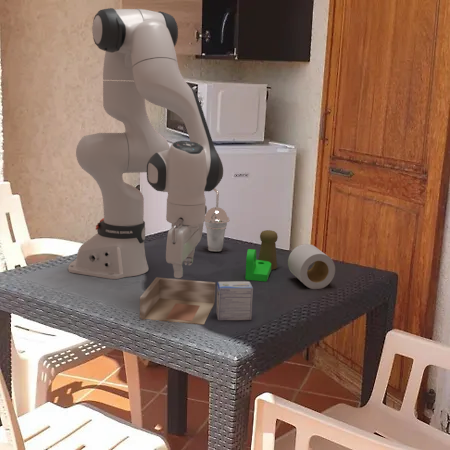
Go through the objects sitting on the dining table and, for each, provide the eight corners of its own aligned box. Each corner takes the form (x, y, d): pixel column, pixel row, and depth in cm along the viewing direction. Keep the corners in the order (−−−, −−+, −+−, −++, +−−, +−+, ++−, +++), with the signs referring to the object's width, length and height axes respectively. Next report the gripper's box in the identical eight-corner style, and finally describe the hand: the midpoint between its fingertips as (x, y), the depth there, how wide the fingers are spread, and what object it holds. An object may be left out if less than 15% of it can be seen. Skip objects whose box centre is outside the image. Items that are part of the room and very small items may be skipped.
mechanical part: (266, 281, 185) (268, 254, 183) (245, 279, 186) (246, 252, 184) (272, 267, 196) (273, 241, 194) (252, 265, 197) (253, 239, 195)
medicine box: (248, 315, 160) (250, 280, 158) (251, 322, 156) (253, 287, 154) (215, 315, 159) (217, 281, 157) (218, 322, 155) (219, 287, 153)
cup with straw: (200, 252, 211) (203, 190, 206) (202, 244, 219) (205, 185, 215) (227, 253, 210) (230, 191, 206) (228, 246, 219) (231, 186, 214)
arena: (139, 321, 154) (140, 297, 152) (155, 299, 168) (156, 277, 167) (203, 327, 152) (204, 303, 150) (214, 304, 166) (215, 282, 165)
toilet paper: (286, 278, 189) (289, 244, 187) (319, 276, 191) (322, 243, 189) (299, 290, 180) (301, 254, 177) (333, 288, 182) (336, 253, 180)
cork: (255, 268, 196) (257, 232, 194) (258, 262, 202) (260, 227, 200) (276, 270, 195) (278, 234, 193) (278, 264, 201) (280, 229, 199)
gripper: (188, 226, 142) (185, 287, 146) (208, 205, 161) (206, 259, 165) (159, 223, 143) (157, 283, 147) (183, 202, 162) (181, 256, 166)
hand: (183, 270), depth 156 cm, fingers open, 8 cm apart
